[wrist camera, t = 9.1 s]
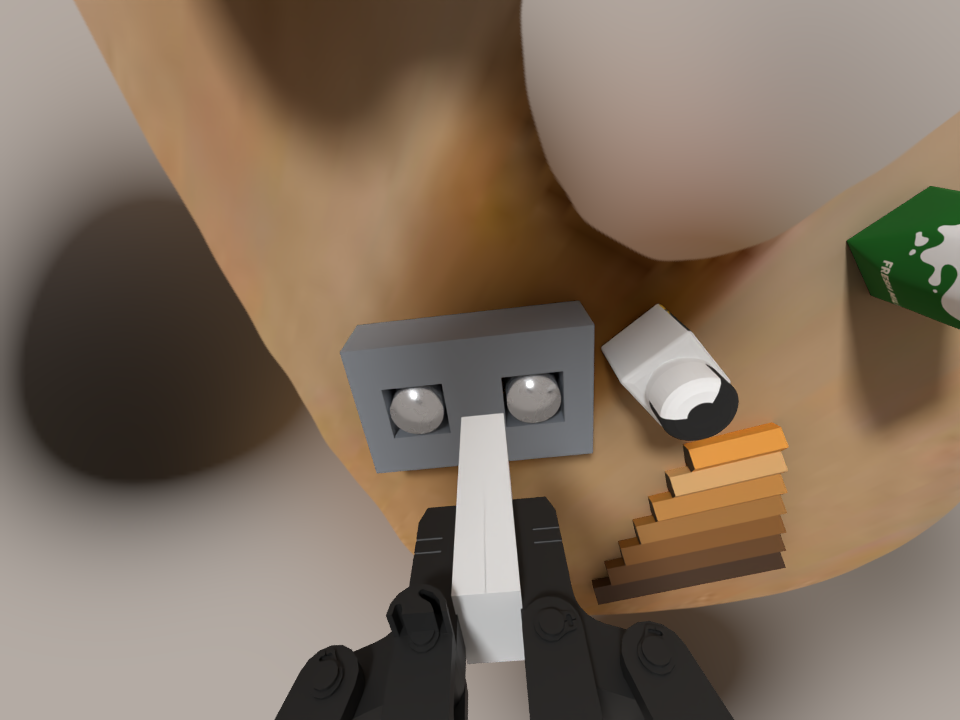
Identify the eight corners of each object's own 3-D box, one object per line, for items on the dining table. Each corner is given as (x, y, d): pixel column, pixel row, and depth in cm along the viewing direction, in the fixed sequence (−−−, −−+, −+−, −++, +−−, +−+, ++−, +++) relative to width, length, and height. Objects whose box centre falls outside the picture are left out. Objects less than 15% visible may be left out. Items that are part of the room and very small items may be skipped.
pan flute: (594, 589, 62) (769, 553, 59) (600, 611, 59) (785, 575, 56) (556, 469, 51) (769, 416, 48) (561, 489, 48) (788, 434, 45)
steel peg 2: (501, 355, 42) (504, 380, 38) (551, 350, 42) (560, 374, 37) (506, 396, 44) (509, 425, 40) (553, 392, 44) (561, 420, 40)
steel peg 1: (394, 366, 42) (384, 393, 38) (443, 361, 42) (438, 387, 38) (404, 407, 45) (396, 436, 40) (450, 402, 45) (447, 431, 40)
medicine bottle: (696, 348, 43) (768, 416, 32) (638, 389, 45) (687, 465, 35) (658, 301, 41) (722, 358, 30) (598, 347, 43) (638, 415, 32)
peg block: (357, 325, 42) (339, 352, 36) (579, 300, 40) (594, 324, 35) (387, 436, 48) (376, 473, 43) (579, 417, 47) (592, 453, 42)
